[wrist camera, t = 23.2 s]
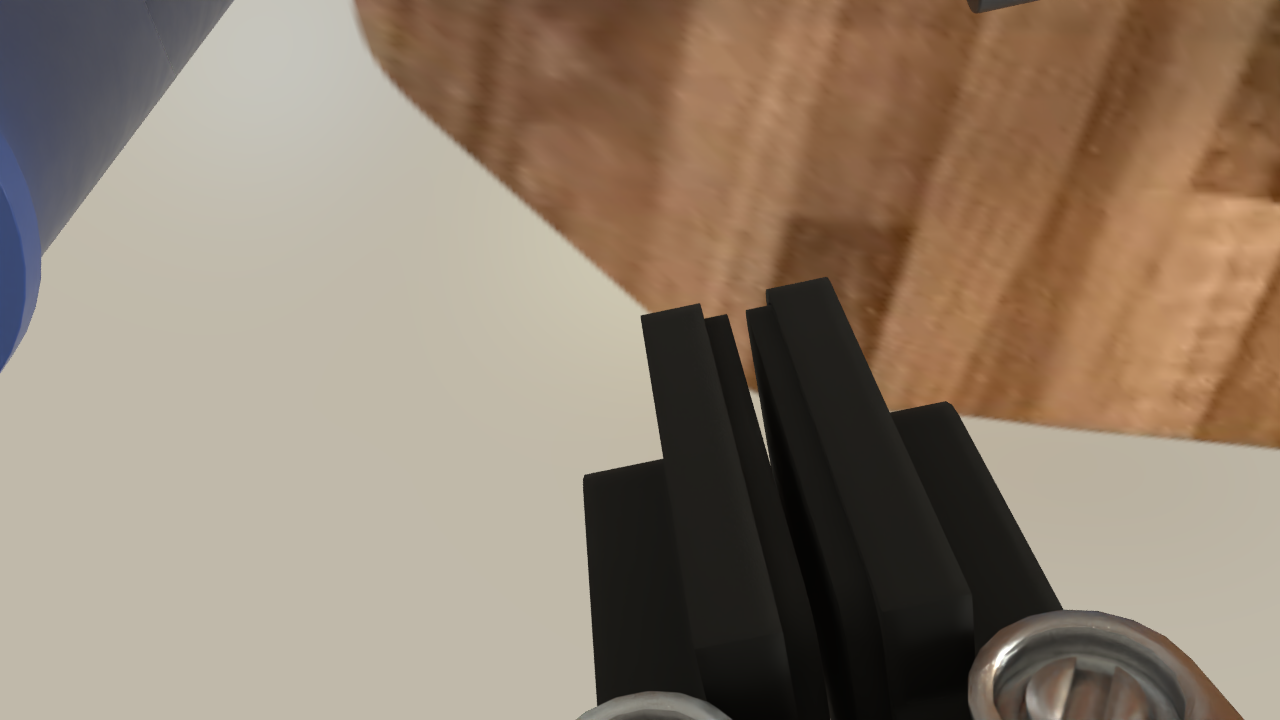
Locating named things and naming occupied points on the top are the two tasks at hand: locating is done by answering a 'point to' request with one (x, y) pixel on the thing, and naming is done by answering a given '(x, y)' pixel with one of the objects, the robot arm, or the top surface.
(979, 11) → the drawer
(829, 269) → the top surface
